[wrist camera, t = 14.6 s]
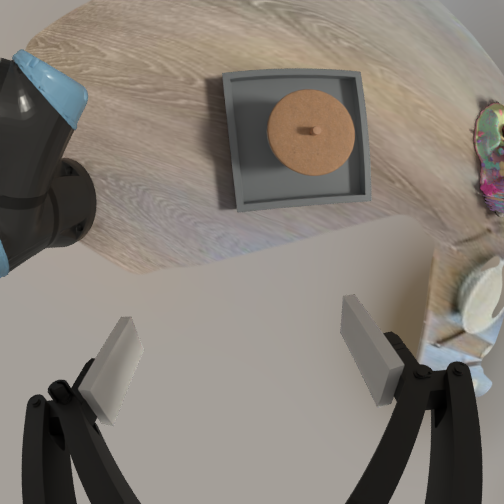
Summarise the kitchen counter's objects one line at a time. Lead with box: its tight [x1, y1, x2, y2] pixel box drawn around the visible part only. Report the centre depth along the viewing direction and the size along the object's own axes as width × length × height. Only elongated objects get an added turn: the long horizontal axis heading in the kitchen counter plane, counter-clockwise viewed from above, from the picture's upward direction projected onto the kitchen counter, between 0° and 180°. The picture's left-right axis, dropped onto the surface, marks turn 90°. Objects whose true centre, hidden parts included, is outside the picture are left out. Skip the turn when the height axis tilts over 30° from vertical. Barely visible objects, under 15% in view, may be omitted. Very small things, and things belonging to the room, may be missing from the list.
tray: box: [222, 69, 371, 212], centre depth 36 cm, size 20×20×2 cm
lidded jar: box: [267, 89, 355, 176], centre depth 32 cm, size 11×11×9 cm
